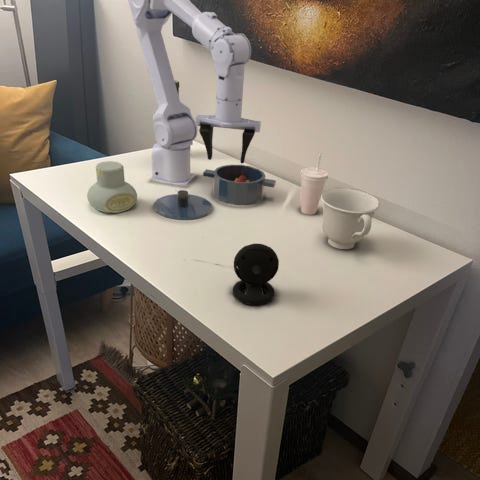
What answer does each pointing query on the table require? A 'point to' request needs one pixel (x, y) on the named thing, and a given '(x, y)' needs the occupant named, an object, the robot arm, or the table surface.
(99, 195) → the air freshener
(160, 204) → the pot lid
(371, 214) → the teacup
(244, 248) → the webcam
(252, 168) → the pot
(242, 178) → the hot dog
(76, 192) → the table surface
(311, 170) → the smoothie
